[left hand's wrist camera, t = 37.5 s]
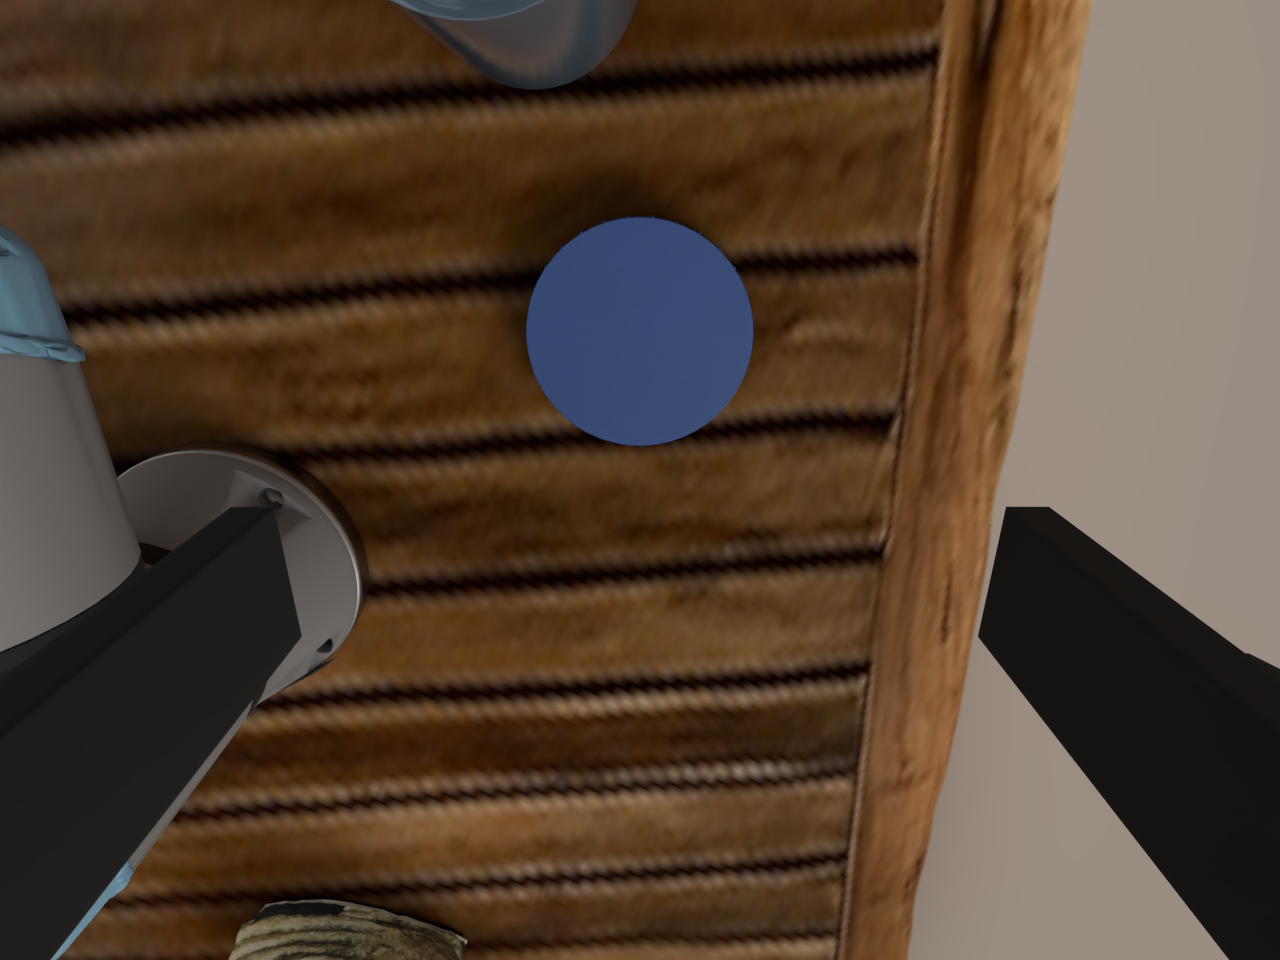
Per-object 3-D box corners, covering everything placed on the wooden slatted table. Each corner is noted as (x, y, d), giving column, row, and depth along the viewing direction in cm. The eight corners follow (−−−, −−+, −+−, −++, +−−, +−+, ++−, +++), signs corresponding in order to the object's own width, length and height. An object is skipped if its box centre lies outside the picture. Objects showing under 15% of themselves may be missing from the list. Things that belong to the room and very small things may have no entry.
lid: (777, 384, 38) (786, 395, 36) (587, 463, 39) (584, 478, 37) (700, 175, 34) (704, 173, 32) (492, 272, 36) (483, 277, 33)
